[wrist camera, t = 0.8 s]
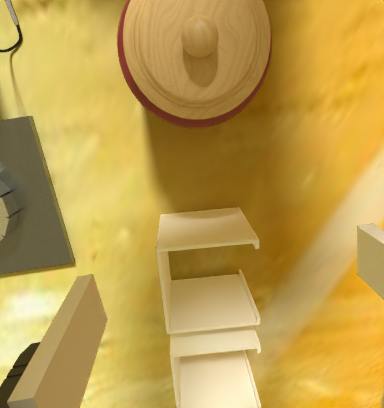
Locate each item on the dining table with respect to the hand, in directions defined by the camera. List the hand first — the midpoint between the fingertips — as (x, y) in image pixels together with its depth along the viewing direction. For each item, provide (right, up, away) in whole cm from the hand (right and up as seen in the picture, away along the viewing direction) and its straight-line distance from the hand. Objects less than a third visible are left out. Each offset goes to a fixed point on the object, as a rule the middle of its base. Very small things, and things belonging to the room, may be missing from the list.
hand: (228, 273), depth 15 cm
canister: (-2, +20, +22) cm, 30 cm away
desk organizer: (0, -9, +32) cm, 33 cm away
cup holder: (-30, +3, +26) cm, 39 cm away
